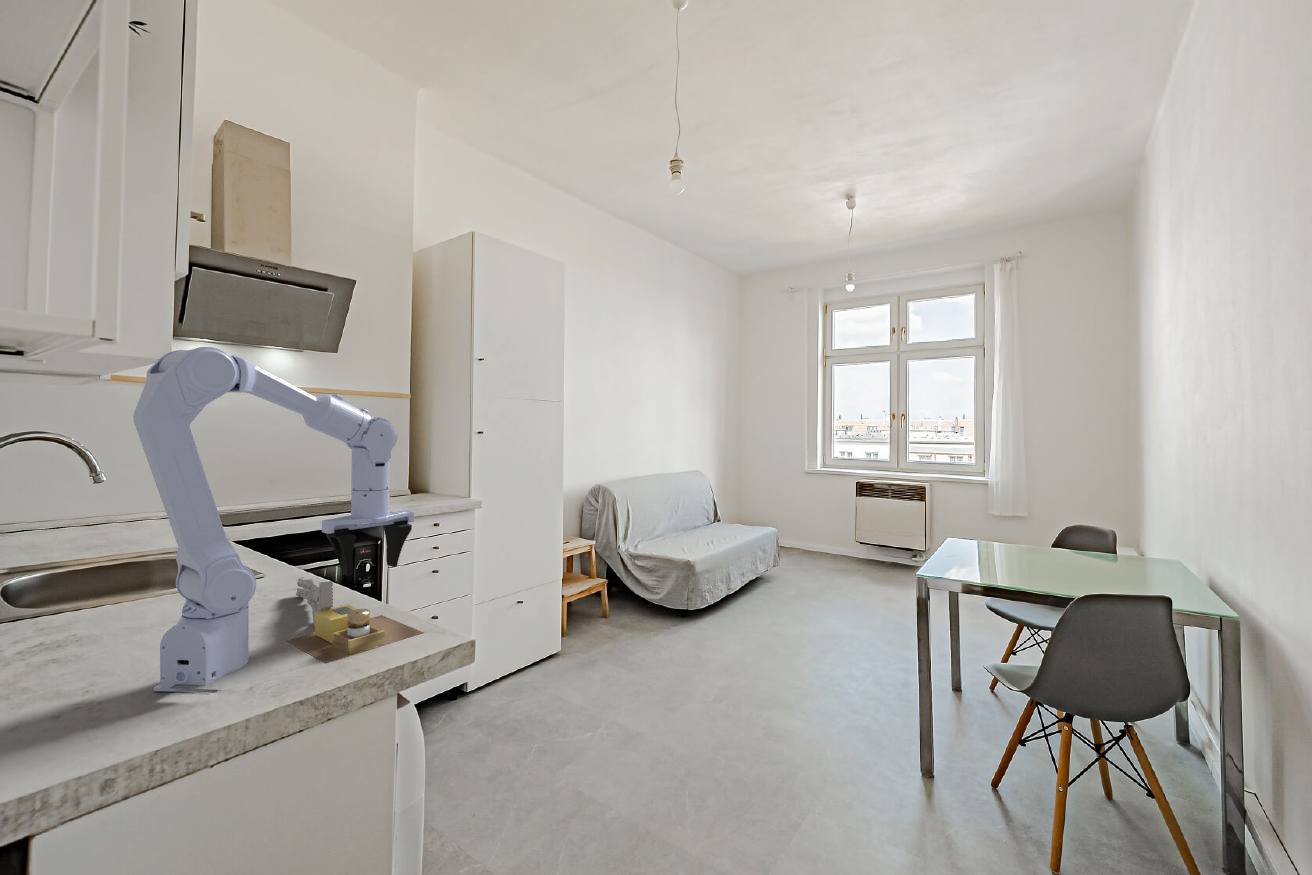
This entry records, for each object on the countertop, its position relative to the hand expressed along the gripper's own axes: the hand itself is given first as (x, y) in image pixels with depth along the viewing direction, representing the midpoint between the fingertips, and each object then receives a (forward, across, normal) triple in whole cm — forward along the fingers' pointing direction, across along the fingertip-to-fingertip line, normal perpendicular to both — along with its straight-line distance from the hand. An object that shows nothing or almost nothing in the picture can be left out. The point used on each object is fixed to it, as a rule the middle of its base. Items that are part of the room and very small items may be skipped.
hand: (370, 570), depth 96 cm
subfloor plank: (+10, -5, -5) cm, 12 cm away
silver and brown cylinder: (+9, -6, -8) cm, 14 cm away
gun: (+10, -3, +14) cm, 17 cm away
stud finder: (+9, -6, -2) cm, 11 cm away
